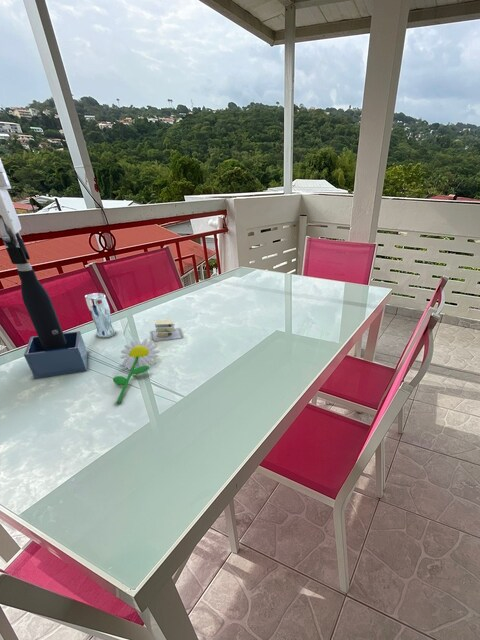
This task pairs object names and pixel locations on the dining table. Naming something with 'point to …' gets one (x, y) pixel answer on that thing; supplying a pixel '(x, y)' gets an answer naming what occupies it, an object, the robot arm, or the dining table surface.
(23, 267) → the wine bottle
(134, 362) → the decorative flower
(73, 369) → the blue grey open box
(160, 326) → the stacked layers on plate
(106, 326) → the beer glass
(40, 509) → the dining table surface
